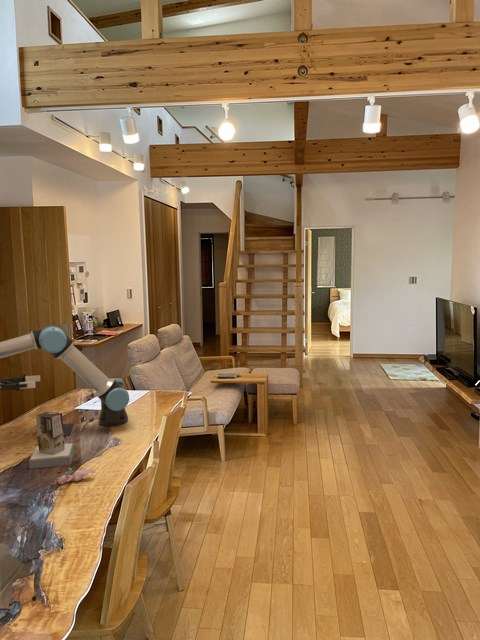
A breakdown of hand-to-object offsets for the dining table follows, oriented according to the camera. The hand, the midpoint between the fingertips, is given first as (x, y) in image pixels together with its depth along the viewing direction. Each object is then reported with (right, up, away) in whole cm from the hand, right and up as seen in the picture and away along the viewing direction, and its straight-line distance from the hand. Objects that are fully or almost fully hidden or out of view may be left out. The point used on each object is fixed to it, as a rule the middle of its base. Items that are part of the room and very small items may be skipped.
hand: (37, 381), depth 236 cm
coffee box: (+13, -28, -18) cm, 36 cm away
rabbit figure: (+30, -34, -40) cm, 60 cm away
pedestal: (+13, -32, -17) cm, 38 cm away
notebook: (+3, -29, +19) cm, 35 cm away
